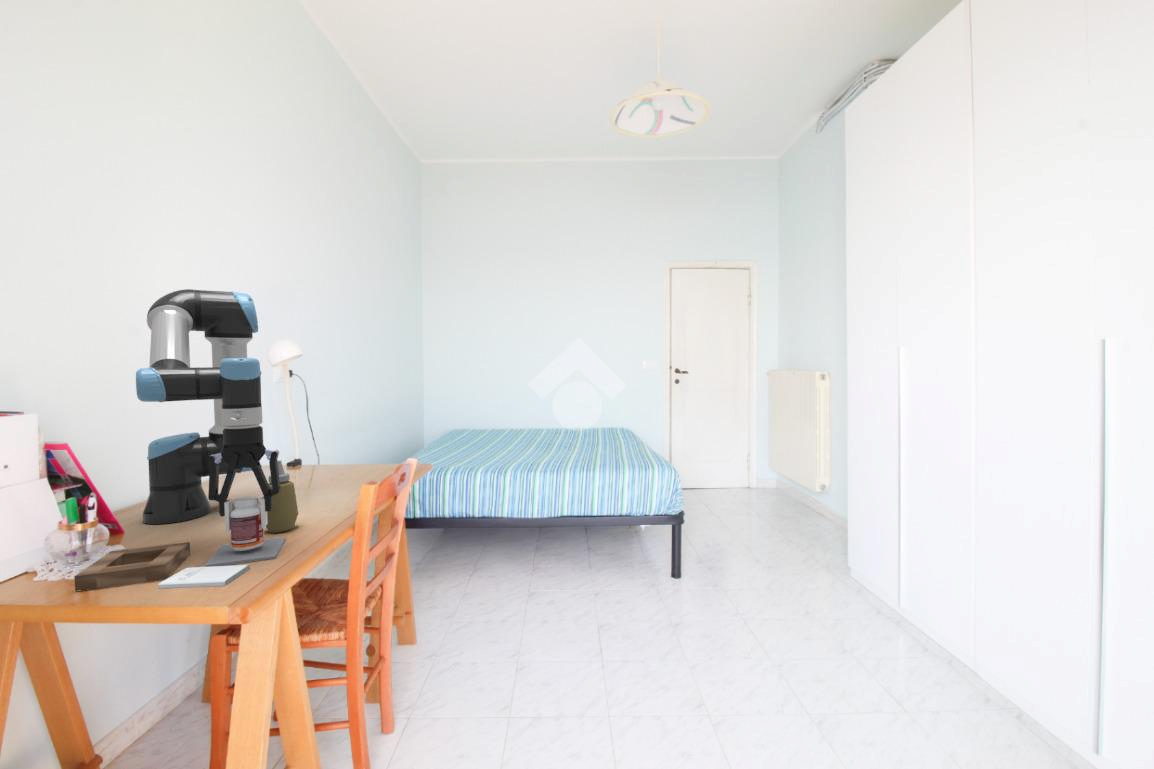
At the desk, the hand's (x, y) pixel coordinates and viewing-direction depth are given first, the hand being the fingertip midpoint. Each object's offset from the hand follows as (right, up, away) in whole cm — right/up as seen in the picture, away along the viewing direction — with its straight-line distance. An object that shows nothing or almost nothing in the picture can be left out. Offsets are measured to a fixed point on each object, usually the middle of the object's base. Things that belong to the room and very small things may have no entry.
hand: (247, 527), depth 114 cm
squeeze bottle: (-2, -6, +16) cm, 17 cm away
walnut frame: (-16, -7, -10) cm, 20 cm away
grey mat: (0, -6, 0) cm, 6 cm away
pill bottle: (0, -5, 0) cm, 5 cm away
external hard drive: (+1, -7, -13) cm, 15 cm away
